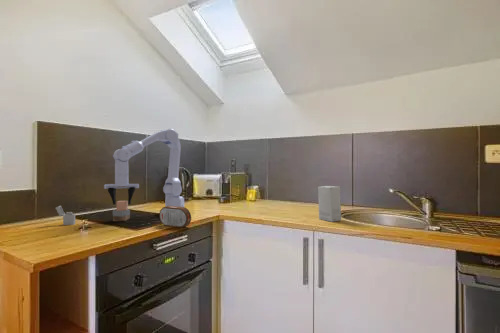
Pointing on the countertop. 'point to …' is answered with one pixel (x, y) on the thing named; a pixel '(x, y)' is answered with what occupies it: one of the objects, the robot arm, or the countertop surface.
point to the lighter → (66, 216)
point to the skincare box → (329, 203)
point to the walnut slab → (121, 218)
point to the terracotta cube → (122, 205)
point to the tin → (175, 216)
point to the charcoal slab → (121, 213)
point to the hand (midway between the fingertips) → (122, 203)
